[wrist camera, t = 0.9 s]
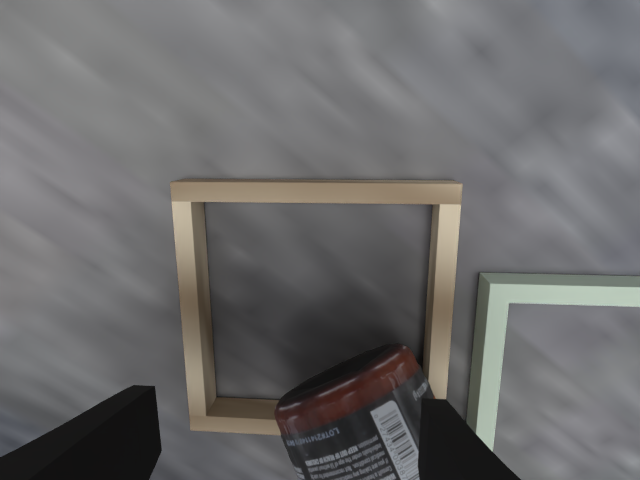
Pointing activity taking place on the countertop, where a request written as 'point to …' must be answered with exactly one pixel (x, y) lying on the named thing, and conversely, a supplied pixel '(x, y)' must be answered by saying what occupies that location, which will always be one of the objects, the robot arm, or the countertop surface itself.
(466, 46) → the countertop surface
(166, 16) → the countertop surface
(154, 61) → the countertop surface
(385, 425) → the supplement bottle
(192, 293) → the socket collar
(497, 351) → the square frame
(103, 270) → the countertop surface
